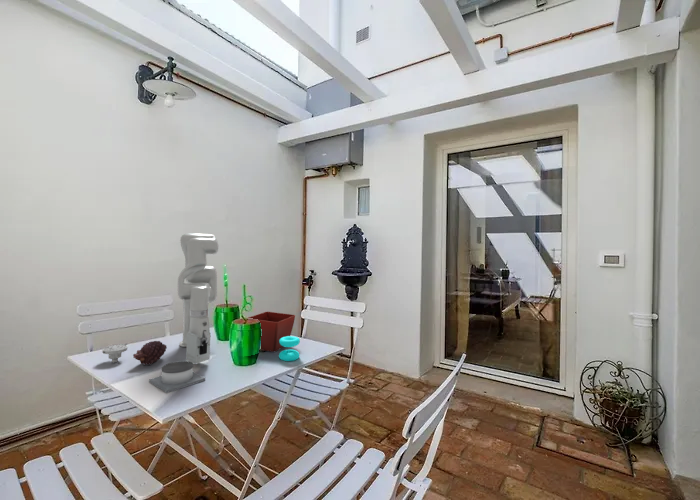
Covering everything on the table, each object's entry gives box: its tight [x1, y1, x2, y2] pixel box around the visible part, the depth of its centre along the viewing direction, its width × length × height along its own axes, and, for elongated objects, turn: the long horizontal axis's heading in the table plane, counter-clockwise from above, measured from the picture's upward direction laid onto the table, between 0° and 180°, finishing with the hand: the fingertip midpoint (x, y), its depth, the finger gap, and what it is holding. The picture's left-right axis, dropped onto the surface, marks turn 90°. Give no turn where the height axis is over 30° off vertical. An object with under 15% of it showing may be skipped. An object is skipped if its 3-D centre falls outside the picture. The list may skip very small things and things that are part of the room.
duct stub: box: [148, 360, 206, 394], centre depth 135 cm, size 15×15×6 cm
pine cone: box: [132, 340, 167, 366], centre depth 153 cm, size 18×10×10 cm, turn 169°
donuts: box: [278, 335, 301, 362], centre depth 165 cm, size 10×10×10 cm
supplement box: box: [185, 332, 211, 365], centre depth 152 cm, size 7×7×13 cm
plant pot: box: [247, 311, 296, 353], centre depth 181 cm, size 19×19×17 cm
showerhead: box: [101, 342, 128, 363], centre depth 154 cm, size 9×7×10 cm
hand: (198, 351), depth 152 cm, fingers closed on supplement box, 7 cm apart
